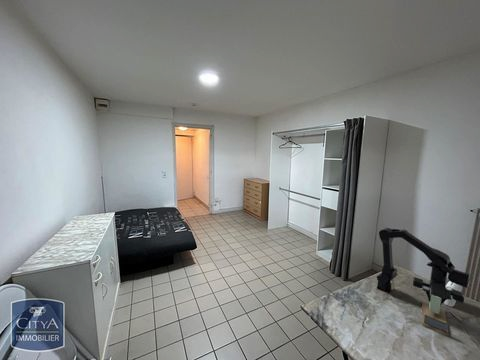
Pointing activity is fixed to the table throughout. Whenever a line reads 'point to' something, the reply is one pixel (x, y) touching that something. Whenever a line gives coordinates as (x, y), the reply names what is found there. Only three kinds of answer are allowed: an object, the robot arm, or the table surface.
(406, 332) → the table surface
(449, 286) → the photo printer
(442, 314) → the shelf board
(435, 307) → the book
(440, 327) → the bookend
